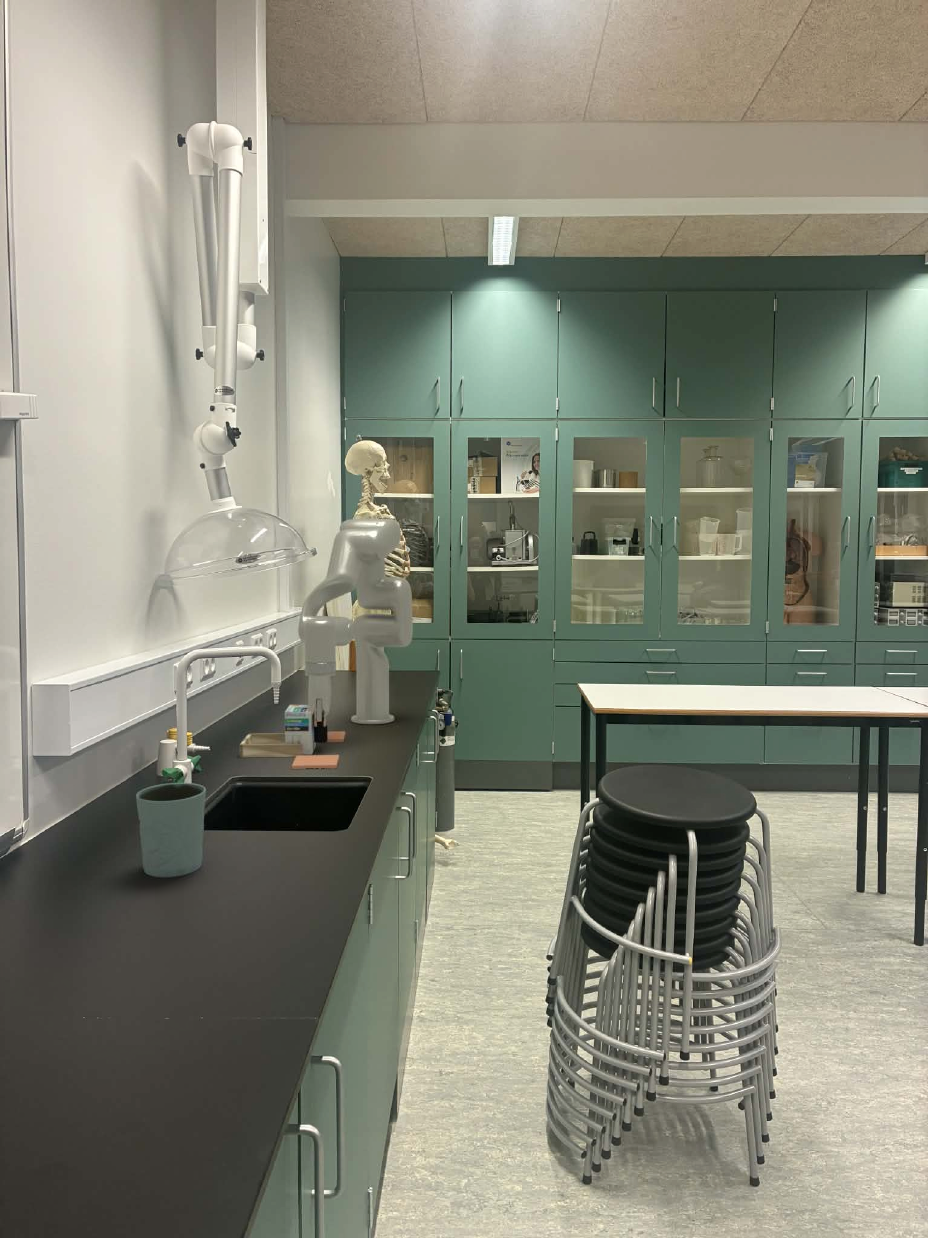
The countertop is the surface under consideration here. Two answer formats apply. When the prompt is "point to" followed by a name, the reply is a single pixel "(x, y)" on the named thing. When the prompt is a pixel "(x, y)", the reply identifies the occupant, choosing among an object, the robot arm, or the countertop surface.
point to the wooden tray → (268, 746)
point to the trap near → (315, 761)
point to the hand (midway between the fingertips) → (320, 741)
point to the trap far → (336, 736)
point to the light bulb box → (300, 728)
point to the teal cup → (171, 828)
